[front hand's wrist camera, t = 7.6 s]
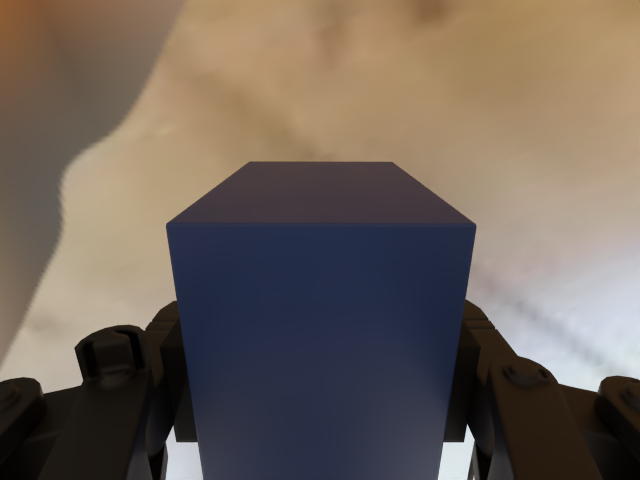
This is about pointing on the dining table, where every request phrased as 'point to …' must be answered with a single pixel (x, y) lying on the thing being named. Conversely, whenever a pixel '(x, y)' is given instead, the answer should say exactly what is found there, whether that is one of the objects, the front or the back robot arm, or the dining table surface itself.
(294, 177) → the bar
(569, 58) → the dining table surface
